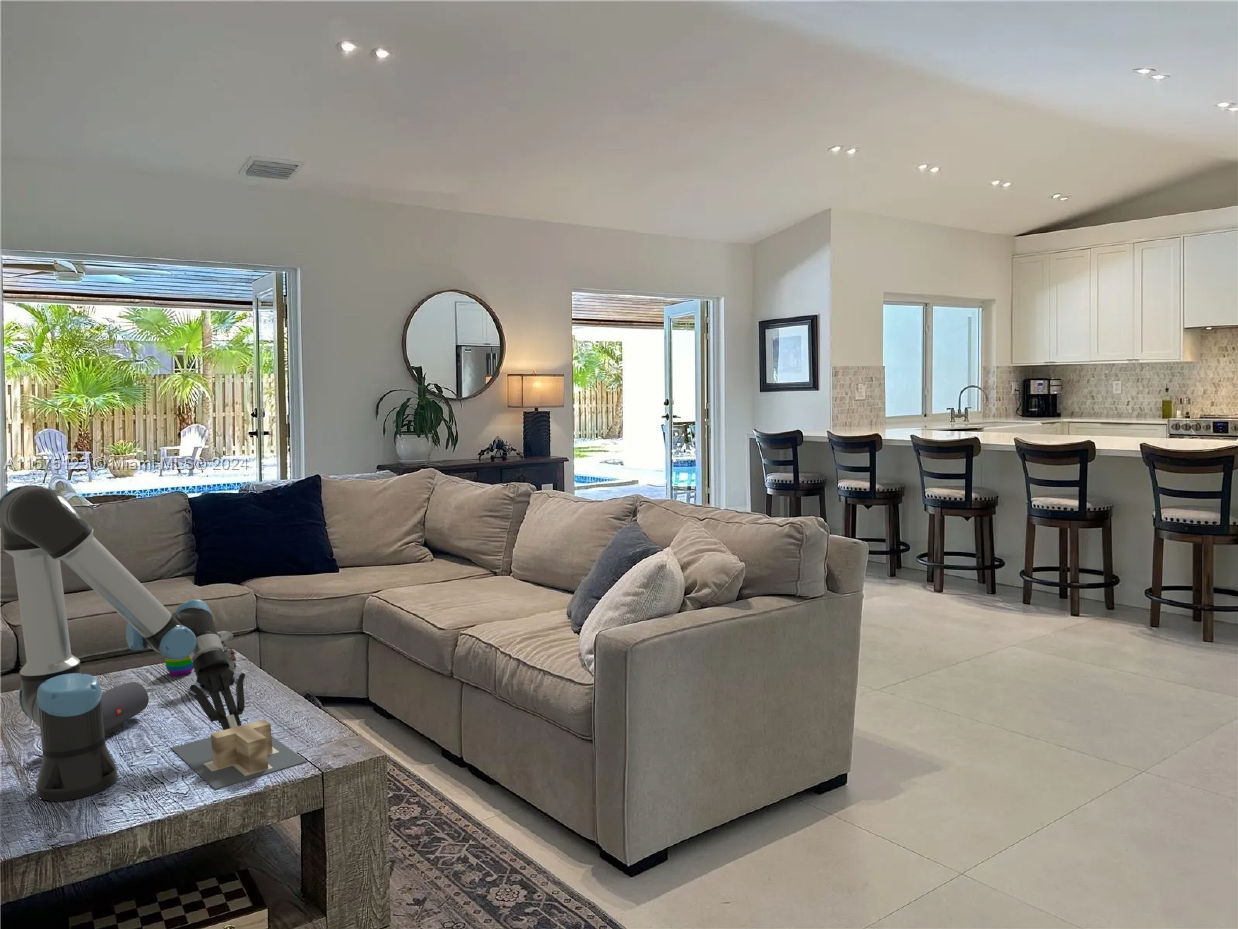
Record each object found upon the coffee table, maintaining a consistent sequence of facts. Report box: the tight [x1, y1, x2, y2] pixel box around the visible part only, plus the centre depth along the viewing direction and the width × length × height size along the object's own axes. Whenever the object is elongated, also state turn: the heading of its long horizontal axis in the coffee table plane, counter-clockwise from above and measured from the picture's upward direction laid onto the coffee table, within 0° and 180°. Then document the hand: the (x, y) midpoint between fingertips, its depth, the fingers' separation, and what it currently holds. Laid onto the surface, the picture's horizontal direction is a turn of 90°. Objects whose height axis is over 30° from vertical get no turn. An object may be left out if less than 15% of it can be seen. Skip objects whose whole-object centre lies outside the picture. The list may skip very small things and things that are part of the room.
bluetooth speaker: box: [101, 681, 150, 736], centre depth 231 cm, size 23×9×10 cm, turn 168°
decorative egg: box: [164, 655, 194, 677], centre depth 279 cm, size 8×8×10 cm
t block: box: [210, 719, 273, 774], centre depth 208 cm, size 12×12×7 cm
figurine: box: [192, 630, 237, 685], centre depth 267 cm, size 9×12×15 cm
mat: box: [170, 735, 308, 791], centre depth 214 cm, size 20×32×1 cm, turn 41°
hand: (237, 742), depth 213 cm, fingers closed
